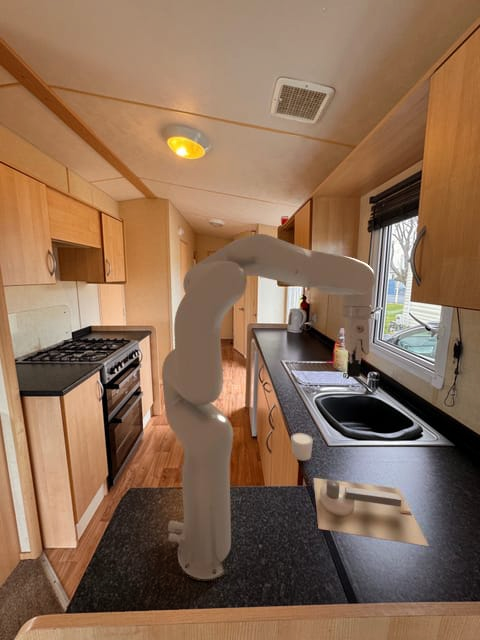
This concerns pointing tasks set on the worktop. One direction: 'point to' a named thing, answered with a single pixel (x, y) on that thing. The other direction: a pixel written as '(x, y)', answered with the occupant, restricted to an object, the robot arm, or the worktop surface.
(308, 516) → the worktop surface
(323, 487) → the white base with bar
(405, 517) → the tan flat board
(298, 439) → the white short cylinder
